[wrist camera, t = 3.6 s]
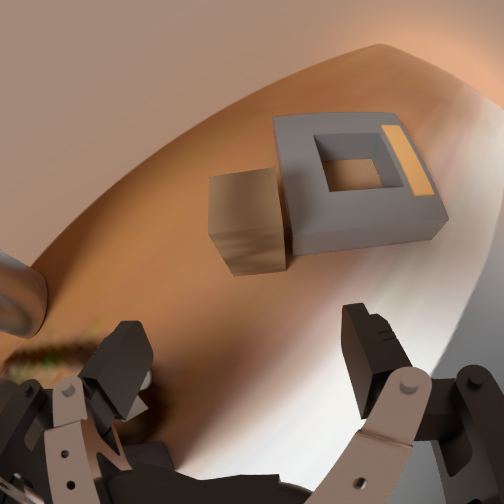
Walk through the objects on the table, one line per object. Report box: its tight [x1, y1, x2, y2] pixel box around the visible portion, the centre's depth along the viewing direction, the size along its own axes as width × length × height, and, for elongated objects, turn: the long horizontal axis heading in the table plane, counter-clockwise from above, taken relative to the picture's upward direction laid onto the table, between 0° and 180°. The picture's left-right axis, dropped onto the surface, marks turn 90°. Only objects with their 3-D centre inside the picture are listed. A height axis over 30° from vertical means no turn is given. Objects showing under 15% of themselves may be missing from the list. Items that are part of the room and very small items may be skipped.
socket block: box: [273, 112, 449, 256], centre depth 24 cm, size 14×14×4 cm
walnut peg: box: [208, 168, 286, 277], centre depth 21 cm, size 4×4×8 cm
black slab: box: [46, 441, 174, 504], centre depth 11 cm, size 11×4×15 cm, turn 111°
